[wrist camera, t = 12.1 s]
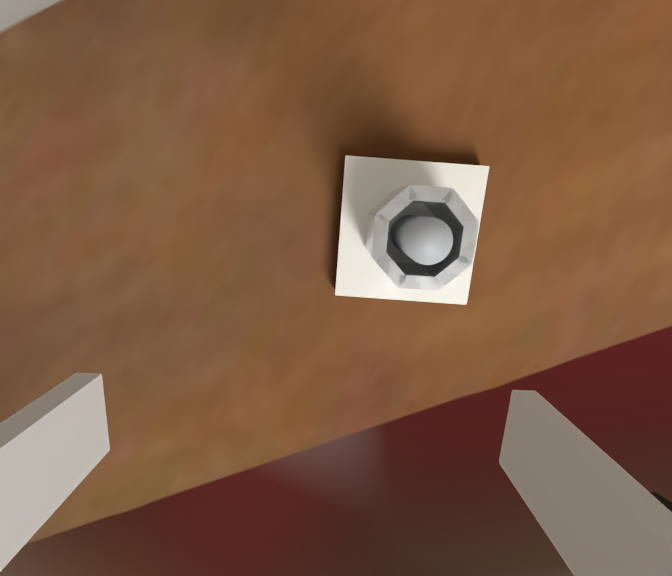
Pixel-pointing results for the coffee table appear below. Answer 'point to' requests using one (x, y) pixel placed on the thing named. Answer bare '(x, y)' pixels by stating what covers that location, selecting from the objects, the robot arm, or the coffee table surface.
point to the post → (402, 225)
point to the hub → (443, 207)
